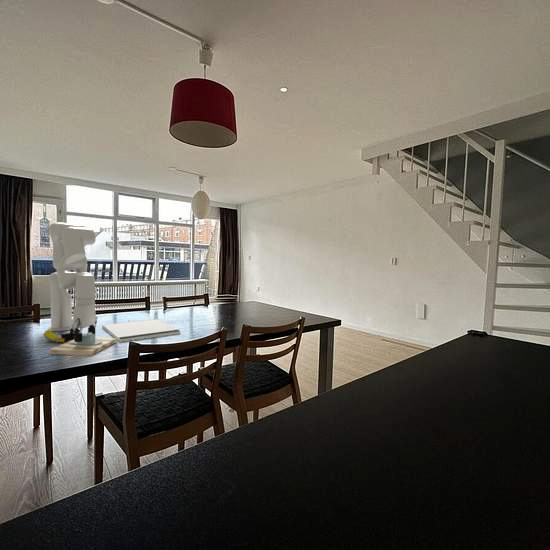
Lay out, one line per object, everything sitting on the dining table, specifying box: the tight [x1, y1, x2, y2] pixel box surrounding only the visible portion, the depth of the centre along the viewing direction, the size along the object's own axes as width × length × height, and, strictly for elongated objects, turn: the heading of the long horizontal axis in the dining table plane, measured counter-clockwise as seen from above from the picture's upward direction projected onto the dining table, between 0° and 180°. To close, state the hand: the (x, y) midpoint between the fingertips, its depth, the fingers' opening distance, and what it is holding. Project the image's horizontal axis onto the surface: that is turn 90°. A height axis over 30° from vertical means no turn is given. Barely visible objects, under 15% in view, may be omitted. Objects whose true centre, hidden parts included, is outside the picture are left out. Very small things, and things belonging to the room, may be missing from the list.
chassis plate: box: [49, 337, 118, 357], centre depth 145 cm, size 20×18×2 cm
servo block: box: [70, 332, 102, 346], centre depth 144 cm, size 4×12×7 cm, turn 89°
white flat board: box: [101, 318, 181, 343], centre depth 178 cm, size 35×2×31 cm
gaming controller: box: [43, 328, 74, 344], centre depth 156 cm, size 15×6×10 cm
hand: (85, 338), depth 145 cm, fingers open, 9 cm apart
